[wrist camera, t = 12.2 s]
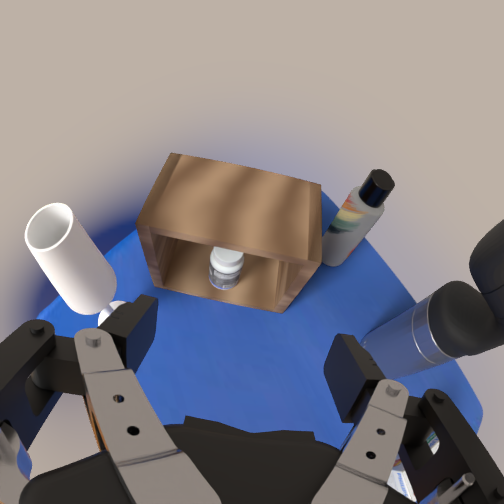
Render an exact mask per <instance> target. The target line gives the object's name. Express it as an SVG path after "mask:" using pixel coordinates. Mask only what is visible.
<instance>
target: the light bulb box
mask: <svg viewBox="0 0 504 504" xmlns="http://www.w3.org/2000/svg"><path fill="white" fill-rule="evenodd" d="M426 441H427V443H428V445H429V447H430V448H431V450H432V452H433V454H435V452H436V451H437V450H438V448H439V439H438V437H437V436H436V434H435V432H434V431H433V432H432V433H431V434H430V436H429V437H428V438H427V440H426ZM387 484H388V485H389V486H391V487H392V488H394V489H395V490H397V491H398V492H400V493H401V494H403V495H404V496H406V497H407V498H409V499H411V500H412V501H414V502H415V501H416V497H415V495H414V492H413V490H412V487H411V484H410V482H409V479H408V477H407V474H406V472H405V469H404V467H403V465H402V462H401V460H400V457H399V455H398V454H397V457H396V460H395V463H394V465H393V468H392V471H391V474H390V476H389V479H388V482H387Z"/></svg>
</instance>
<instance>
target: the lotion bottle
mask: <svg viewBox="0 0 504 504" xmlns="http://www.w3.org/2000/svg"><path fill="white" fill-rule="evenodd" d="M394 186H395V183H394V181H393V180H392V178H391V176H390V175H389V174H388V173H387V172H386V171H384V170H381V169H377V170H375V169H374V170H372V171H371V172H370V174H369V175H368V177H367V178H366V180H365V182H364V183H363V185H362V186H358V187H355V188H354V189H353V190H352V191H351V192H350V194H349V196H348V198H347V199H346V200H345V202H344V204H343V205H342V207H341V209H340V210H339V212H338V213H337V215H336V217H335V218H334V220H333V221H332V223H331V225H330V226H329V228H328V229H327V231H326V233H325V234H324V236H323V237H322V262H323V263H324V264H326V265H328V266H333V267H335V266H339V265H340V264H342V263H343V262H344V261H345V260H346V258H347V257H348V256H349V255H350V254H351V252H352V251H353V250H354V249H355V248H356V246H357V245H358V244H359V243H360V242H361V240H362V239H363V238H364V237H365V235H366V234H367V233H368V232H369V231H370V229H371V228H372V227H373V226H374V224H375V223H376V222H377V220H378V219H379V218H380V216H381V215H382V214H383V212H384V203H383V202H384V201H385V200H386V198H387V197H388V195H389V194H390V193H391V191H392V190H393V188H394Z"/></svg>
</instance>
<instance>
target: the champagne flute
mask: <svg viewBox="0 0 504 504" xmlns="http://www.w3.org/2000/svg"><path fill="white" fill-rule="evenodd" d="M25 241H26V244H27V245H28V247H29V249H30V251H31V252H32V254H33V255H34V257H35V259H36V260H37V262H38V263H39V265H40V266H41V268H42V269H43V271H44V272H45V274H46V275H47V277H48V278H49V280H50V281H51V283H52V284H53V285H54V287H55V288H56V290H57V291H58V292H59V294H60V295H61V297H62V298H63V299H64V301H65V302H66V303H67V305H68V306H69V307H70V308H71V309H72V310H73V311H75V312H77V313H80V314H84V315H91V314H96V313H98V312H100V311H101V313H100V315H99V319H98V325H100V324H101V323H102V322H103V321H104V320H105V319H106V318H107V317H108V316H109V315H110V314H111V313H112V312H114V310H115V309H116V308H117V307H118V306H119V305H121V304H124V303H126V302H124V301H114V302H111V301H112V299H113V297H114V295H115V292H116V286H117V282H116V276H115V273H114V271H113V269H112V267H111V266H110V265H109V263H108V262H107V261H106V259H105V258H104V257H103V255H102V254H101V253H100V251H99V250H98V249H97V247H96V246H95V244H94V243H93V242H92V240H91V239H90V237H89V236H88V234H87V233H86V231H85V230H84V229H83V227H82V226H81V224H80V223H79V221H78V220H77V218H76V217H75V215H74V214H73V212H72V211H71V209H70V208H69V207H68V206H67V205H65V204H62V203H52V204H49V205H46V206H44V207H43V208H41V209H40V210H38V211H37V212H36V213H35V214H34V215H33V217H32V218H31V219H30V221H29V223H28V225H27V227H26V231H25ZM110 302H111V303H110Z"/></svg>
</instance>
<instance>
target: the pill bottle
mask: <svg viewBox="0 0 504 504" xmlns="http://www.w3.org/2000/svg"><path fill="white" fill-rule="evenodd" d="M243 264H244V253H243V252H238V251H233V250H229V249H224V248H219V247H215V246H214V249H213V250H212V252H211V254H210V265H209V280H210V282H211V283H212V285H213V286H214V287H216V288H218V289H221V290H228V289H231V288H233V287H234V286H235V285H236V284H237V283H238V280H239V277H240V274H241V271H242V267H243Z"/></svg>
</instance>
